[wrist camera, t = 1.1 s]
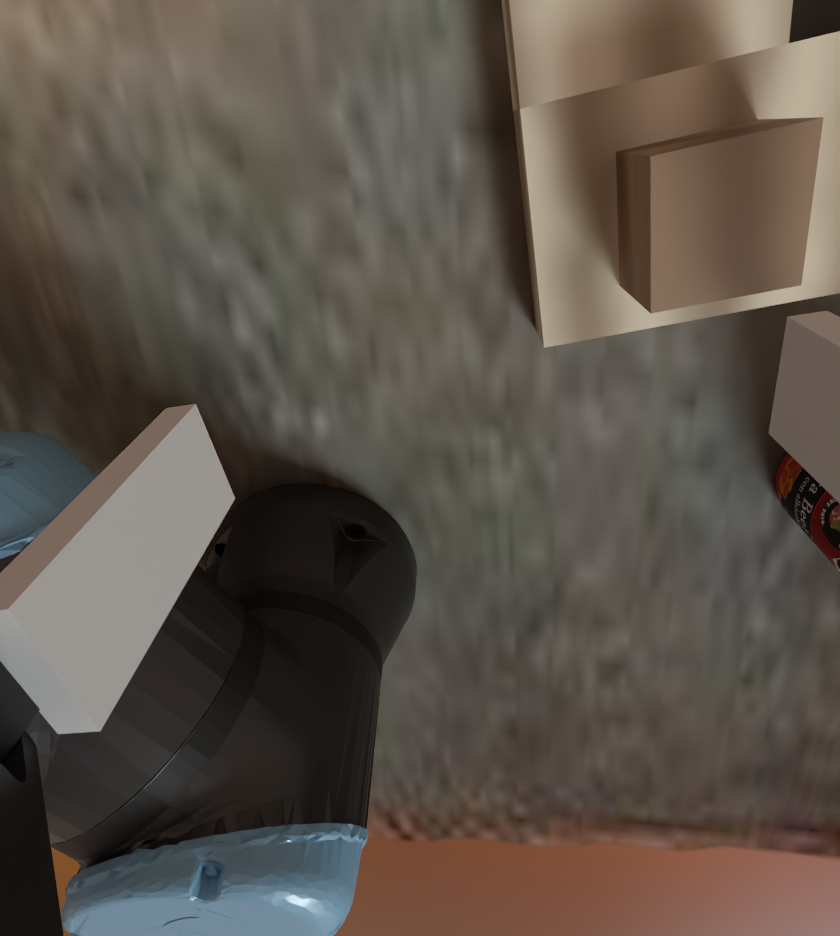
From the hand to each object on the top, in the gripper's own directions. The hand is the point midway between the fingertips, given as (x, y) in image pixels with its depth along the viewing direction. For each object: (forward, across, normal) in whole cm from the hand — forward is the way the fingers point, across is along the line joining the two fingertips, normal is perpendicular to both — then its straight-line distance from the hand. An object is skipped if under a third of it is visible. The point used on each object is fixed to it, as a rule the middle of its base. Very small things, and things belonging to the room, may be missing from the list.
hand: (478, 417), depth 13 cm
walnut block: (+18, -10, -1) cm, 21 cm away
